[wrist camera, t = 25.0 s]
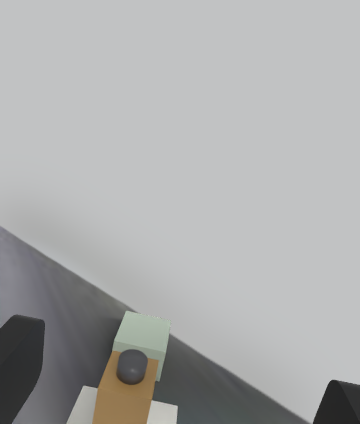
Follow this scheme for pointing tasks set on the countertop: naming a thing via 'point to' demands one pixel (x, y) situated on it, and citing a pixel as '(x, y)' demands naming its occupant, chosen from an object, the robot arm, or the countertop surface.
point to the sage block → (144, 336)
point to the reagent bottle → (126, 389)
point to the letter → (84, 408)
